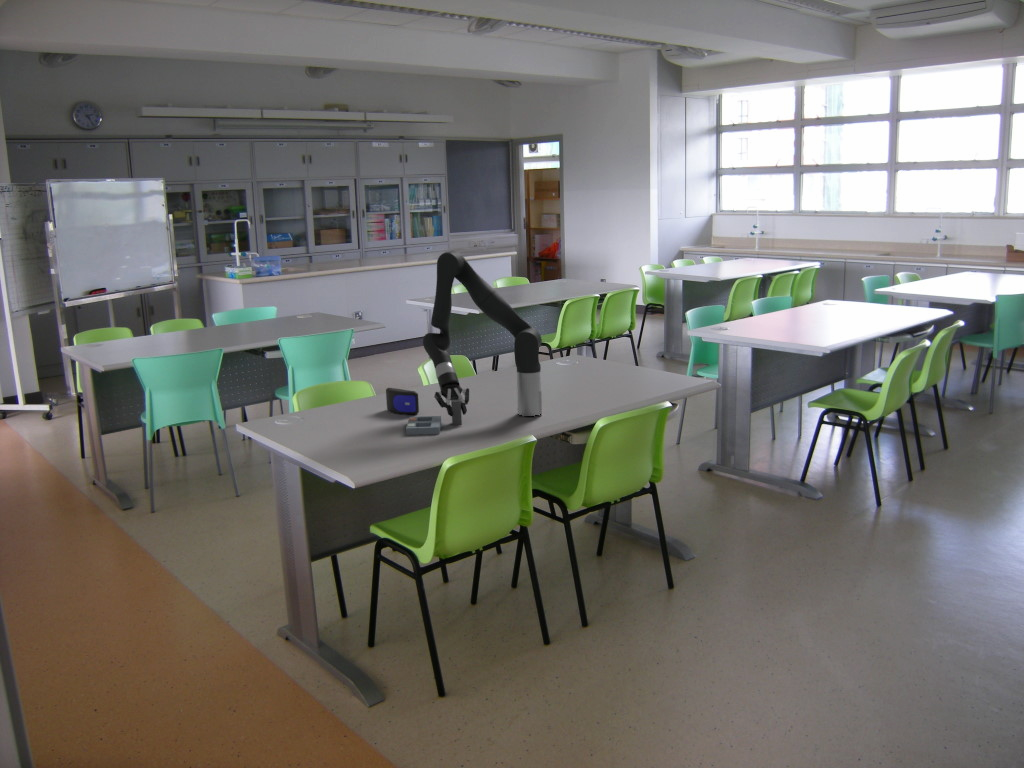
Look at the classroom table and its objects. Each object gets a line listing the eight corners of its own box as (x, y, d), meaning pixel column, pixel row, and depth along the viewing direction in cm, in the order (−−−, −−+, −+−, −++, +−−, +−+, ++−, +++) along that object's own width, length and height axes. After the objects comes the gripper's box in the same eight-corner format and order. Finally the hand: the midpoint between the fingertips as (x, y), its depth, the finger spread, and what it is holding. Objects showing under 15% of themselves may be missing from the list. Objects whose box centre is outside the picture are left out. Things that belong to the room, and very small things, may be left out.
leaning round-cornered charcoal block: (381, 411, 336) (380, 389, 334) (389, 409, 340) (387, 386, 338) (412, 417, 328) (411, 393, 325) (420, 414, 331) (418, 391, 329)
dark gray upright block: (461, 422, 318) (460, 399, 316) (461, 424, 315) (460, 401, 313) (452, 422, 318) (451, 399, 316) (452, 425, 314) (451, 401, 312)
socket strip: (441, 422, 319) (441, 415, 318) (439, 433, 303) (439, 426, 303) (409, 423, 318) (409, 416, 318) (406, 435, 303) (405, 427, 302)
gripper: (430, 373, 316) (441, 411, 308) (466, 369, 321) (478, 406, 313) (427, 384, 322) (438, 422, 314) (462, 380, 327) (474, 417, 319)
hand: (458, 414), depth 314 cm, fingers closed on dark gray upright block, 4 cm apart
